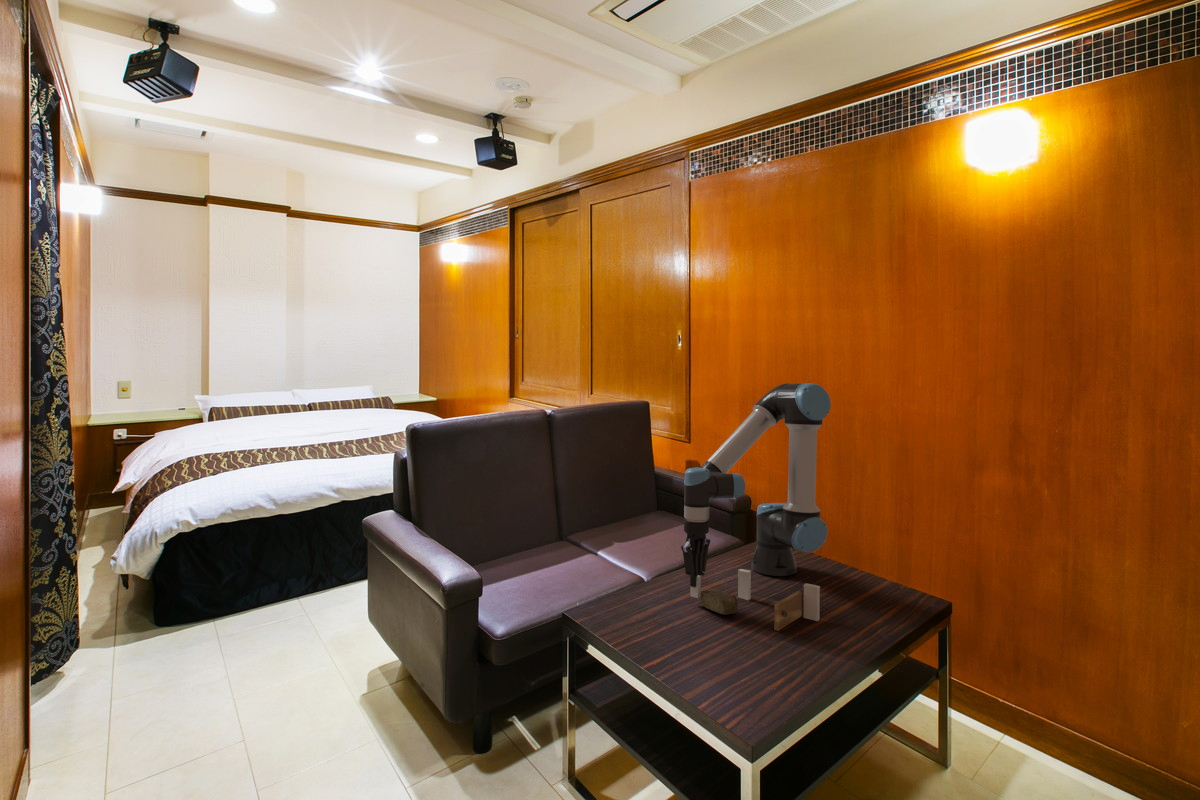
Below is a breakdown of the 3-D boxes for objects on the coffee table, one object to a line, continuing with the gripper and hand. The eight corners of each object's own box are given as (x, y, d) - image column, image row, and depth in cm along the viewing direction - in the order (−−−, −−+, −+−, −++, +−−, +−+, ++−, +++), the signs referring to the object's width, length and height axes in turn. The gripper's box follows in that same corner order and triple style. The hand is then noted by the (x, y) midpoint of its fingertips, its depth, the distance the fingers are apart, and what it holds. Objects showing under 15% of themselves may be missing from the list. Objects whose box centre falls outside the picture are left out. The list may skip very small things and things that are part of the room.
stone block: (724, 617, 167) (723, 599, 167) (699, 607, 177) (698, 590, 178) (739, 613, 170) (738, 595, 170) (714, 603, 180) (713, 587, 180)
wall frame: (740, 598, 185) (740, 568, 184) (819, 619, 168) (820, 586, 168) (737, 600, 183) (737, 570, 183) (817, 621, 167) (817, 588, 166)
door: (774, 630, 160) (774, 603, 160) (799, 614, 172) (799, 589, 171) (783, 633, 158) (783, 605, 158) (808, 616, 170) (808, 591, 170)
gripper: (697, 514, 185) (696, 588, 185) (673, 520, 175) (672, 599, 176) (718, 517, 180) (717, 594, 180) (695, 524, 170) (694, 605, 171)
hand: (695, 596), depth 178 cm, fingers closed
